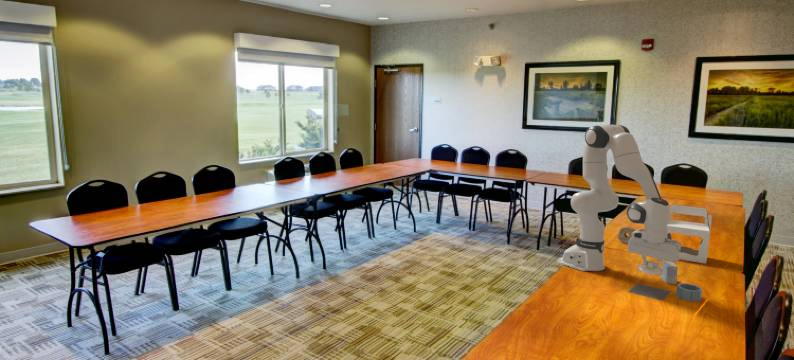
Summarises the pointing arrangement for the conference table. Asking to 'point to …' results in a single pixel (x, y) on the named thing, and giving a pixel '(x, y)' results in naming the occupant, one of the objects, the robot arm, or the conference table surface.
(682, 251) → the gable box
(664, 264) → the medicine box
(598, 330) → the conference table surface
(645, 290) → the mat
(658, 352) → the conference table surface
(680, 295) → the bowl
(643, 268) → the lid
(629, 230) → the stone disc
